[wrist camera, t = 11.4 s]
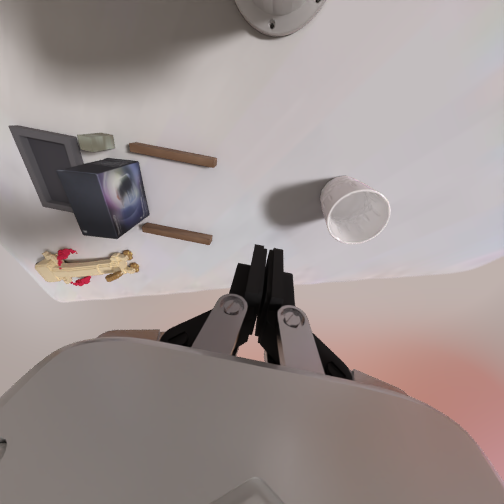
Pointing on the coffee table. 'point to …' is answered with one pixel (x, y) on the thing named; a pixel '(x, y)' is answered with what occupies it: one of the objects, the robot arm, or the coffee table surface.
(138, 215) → the small box
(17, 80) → the coffee table surface
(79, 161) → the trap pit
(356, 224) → the white cup
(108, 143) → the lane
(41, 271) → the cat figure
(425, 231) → the coffee table surface
